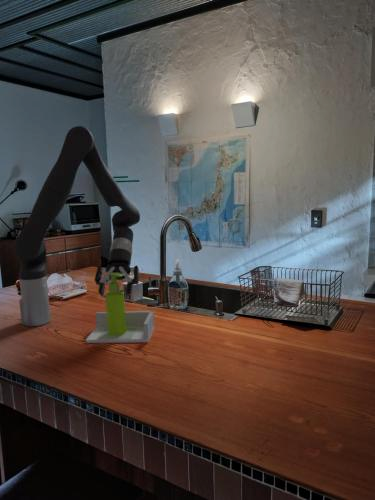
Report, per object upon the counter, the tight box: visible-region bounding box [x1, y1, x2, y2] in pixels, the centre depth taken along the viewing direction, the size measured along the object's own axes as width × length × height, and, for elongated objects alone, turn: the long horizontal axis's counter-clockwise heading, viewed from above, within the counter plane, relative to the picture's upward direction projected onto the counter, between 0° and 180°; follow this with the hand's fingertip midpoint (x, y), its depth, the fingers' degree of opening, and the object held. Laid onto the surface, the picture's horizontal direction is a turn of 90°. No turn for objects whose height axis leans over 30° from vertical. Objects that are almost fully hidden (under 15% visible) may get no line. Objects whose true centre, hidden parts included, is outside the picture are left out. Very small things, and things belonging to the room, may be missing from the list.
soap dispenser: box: [105, 273, 126, 335], centre depth 126 cm, size 6×7×20 cm
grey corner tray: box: [85, 310, 155, 344], centre depth 128 cm, size 20×13×6 cm, turn 87°
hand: (114, 294), depth 125 cm, fingers open, 8 cm apart
